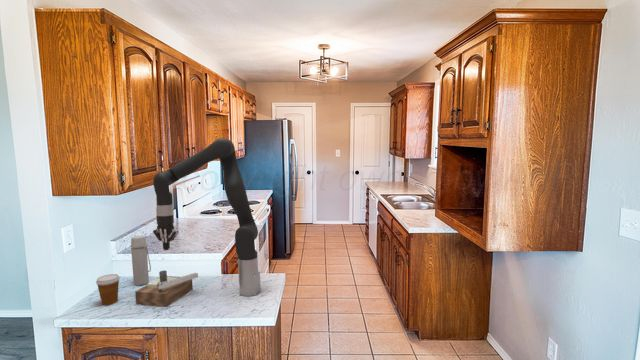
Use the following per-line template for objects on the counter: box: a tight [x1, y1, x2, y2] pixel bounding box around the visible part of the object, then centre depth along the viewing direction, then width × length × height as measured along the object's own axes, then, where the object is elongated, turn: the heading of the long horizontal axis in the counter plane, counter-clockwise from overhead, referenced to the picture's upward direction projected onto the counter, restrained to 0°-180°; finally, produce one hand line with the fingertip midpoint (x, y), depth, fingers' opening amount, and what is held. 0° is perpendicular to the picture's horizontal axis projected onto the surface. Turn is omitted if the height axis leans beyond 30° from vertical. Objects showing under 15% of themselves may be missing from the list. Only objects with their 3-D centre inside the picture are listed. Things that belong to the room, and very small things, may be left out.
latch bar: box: [157, 272, 199, 289], centre depth 168 cm, size 2×19×2 cm, turn 138°
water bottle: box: [130, 234, 152, 286], centre depth 190 cm, size 9×8×25 cm
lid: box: [146, 270, 178, 289], centre depth 172 cm, size 10×10×6 cm
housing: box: [134, 275, 194, 308], centre depth 172 cm, size 16×20×8 cm
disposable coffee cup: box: [95, 273, 120, 306], centre depth 167 cm, size 10×10×12 cm
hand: (166, 249), depth 172 cm, fingers closed
